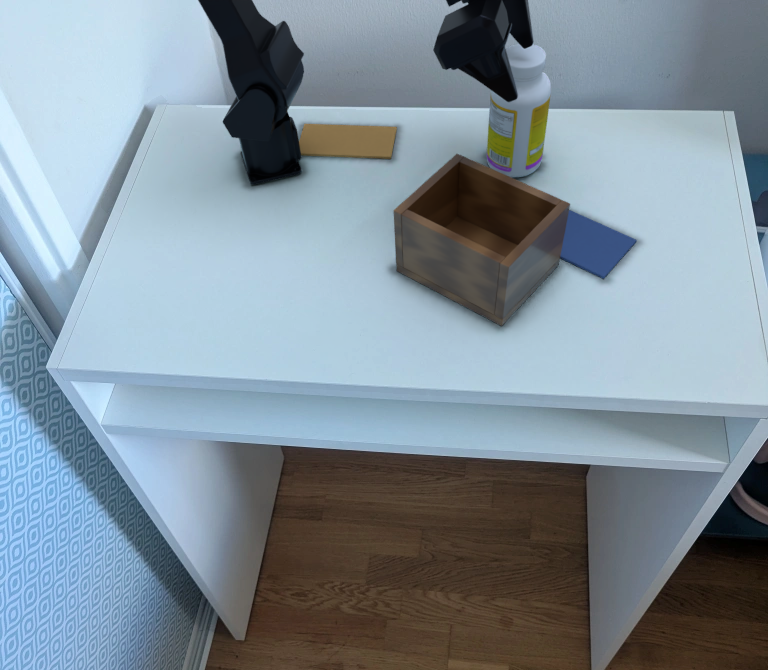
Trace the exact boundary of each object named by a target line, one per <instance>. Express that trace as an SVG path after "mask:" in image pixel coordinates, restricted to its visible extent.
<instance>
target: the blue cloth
mask: <svg viewBox="0 0 768 670" xmlns="http://www.w3.org/2000/svg"><path fill="white" fill-rule="evenodd" d="M637 240H638V239H636V238H634V237H631V236H630V235H627V234H625V233H622V232H621V231H618V230H615V229H613V228H612V227H609V226H607V225H604V224H603V223H600V222H598V221H596V220H594V219H591V218H589V217H587V216H584V215H582V214H580V213H577V212H575V211H574V210H571V209H569V213H568V219H567V224H566V229H565V234H564V240H563V245H562V250H561V255H560V260H562V261H565V262H566V263H569V264H571V265H573V266H575V267H578V268H579V269H582V270H584V271H586V272H588V273H590V274H592V275H594V276H597V277H598V278H600V279H603V280H605V278H606V277H607V276H608V275H609V274H610V273H611V271H612V270H613V269H614V268H615V267H616V266H617V265H618V263H620V261H621V260H622V259H623V258H624V257H625V256H626V254H628V252H629V251H630V250H631V249H632V248H633V246H634V245H635V244H636V243H637Z"/></svg>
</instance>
